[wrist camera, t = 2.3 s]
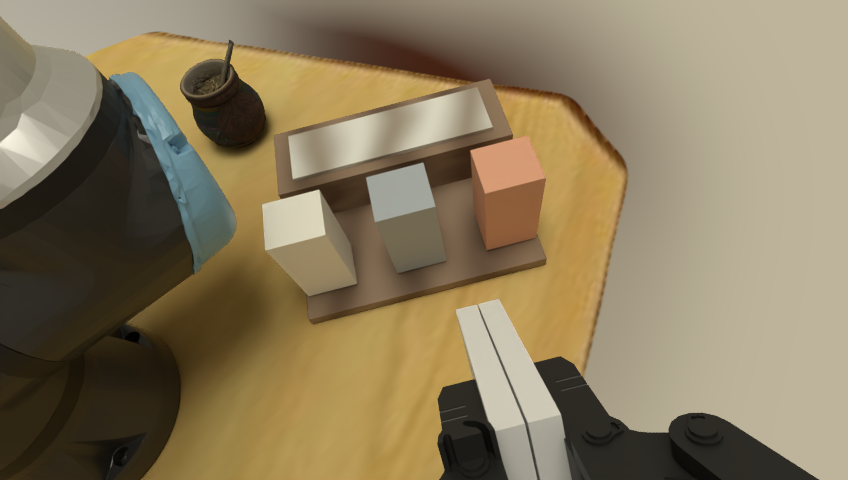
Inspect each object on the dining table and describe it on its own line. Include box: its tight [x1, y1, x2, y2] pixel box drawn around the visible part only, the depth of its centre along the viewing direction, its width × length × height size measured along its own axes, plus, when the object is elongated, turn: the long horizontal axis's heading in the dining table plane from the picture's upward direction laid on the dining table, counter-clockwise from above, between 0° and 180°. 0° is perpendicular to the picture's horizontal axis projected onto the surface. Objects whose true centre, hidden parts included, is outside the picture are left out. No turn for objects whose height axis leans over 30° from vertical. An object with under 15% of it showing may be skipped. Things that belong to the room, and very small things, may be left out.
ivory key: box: [262, 190, 357, 296], centre depth 38 cm, size 4×4×9 cm
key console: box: [274, 79, 547, 324], centre depth 43 cm, size 21×17×6 cm
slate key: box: [366, 163, 446, 273], centre depth 38 cm, size 4×4×9 cm
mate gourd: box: [180, 40, 266, 147], centre depth 49 cm, size 7×8×10 cm
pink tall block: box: [470, 136, 546, 250], centre depth 38 cm, size 4×4×9 cm
